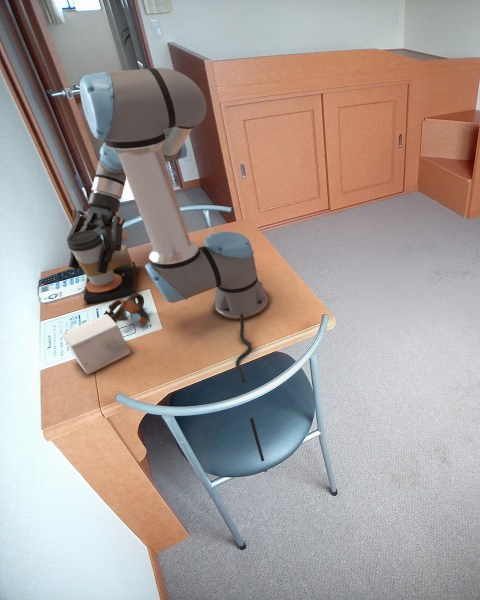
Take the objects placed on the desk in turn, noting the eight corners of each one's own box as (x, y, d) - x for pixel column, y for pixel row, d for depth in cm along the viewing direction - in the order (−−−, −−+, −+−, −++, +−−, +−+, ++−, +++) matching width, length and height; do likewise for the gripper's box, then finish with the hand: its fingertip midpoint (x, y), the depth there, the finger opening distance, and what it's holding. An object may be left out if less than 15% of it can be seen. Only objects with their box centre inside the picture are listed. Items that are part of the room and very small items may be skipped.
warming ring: (121, 288, 129) (121, 287, 129) (84, 295, 126) (84, 294, 125) (122, 271, 136) (122, 270, 136) (87, 278, 132) (87, 277, 132)
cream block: (133, 263, 139) (125, 243, 134) (133, 268, 137) (124, 248, 132) (114, 267, 137) (105, 246, 132) (113, 271, 135) (104, 251, 130)
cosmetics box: (88, 375, 106) (70, 345, 99) (78, 362, 109) (59, 332, 102) (132, 353, 112) (117, 324, 106) (121, 342, 115) (106, 312, 109)
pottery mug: (142, 334, 118) (115, 318, 113) (120, 340, 122) (93, 325, 116) (160, 300, 126) (136, 283, 120) (139, 306, 129) (115, 290, 123)
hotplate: (143, 293, 132) (140, 286, 130) (87, 304, 126) (83, 297, 125) (143, 263, 144) (140, 257, 142) (91, 272, 139) (88, 265, 137)
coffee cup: (121, 281, 130) (102, 238, 120) (90, 291, 125) (68, 247, 116) (114, 268, 134) (96, 226, 125) (84, 277, 130) (62, 234, 121)
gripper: (147, 205, 129) (129, 278, 126) (84, 196, 131) (66, 267, 129) (129, 196, 121) (109, 273, 119) (63, 186, 124) (43, 262, 121)
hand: (87, 270), depth 124 cm, fingers closed on coffee cup, 8 cm apart
